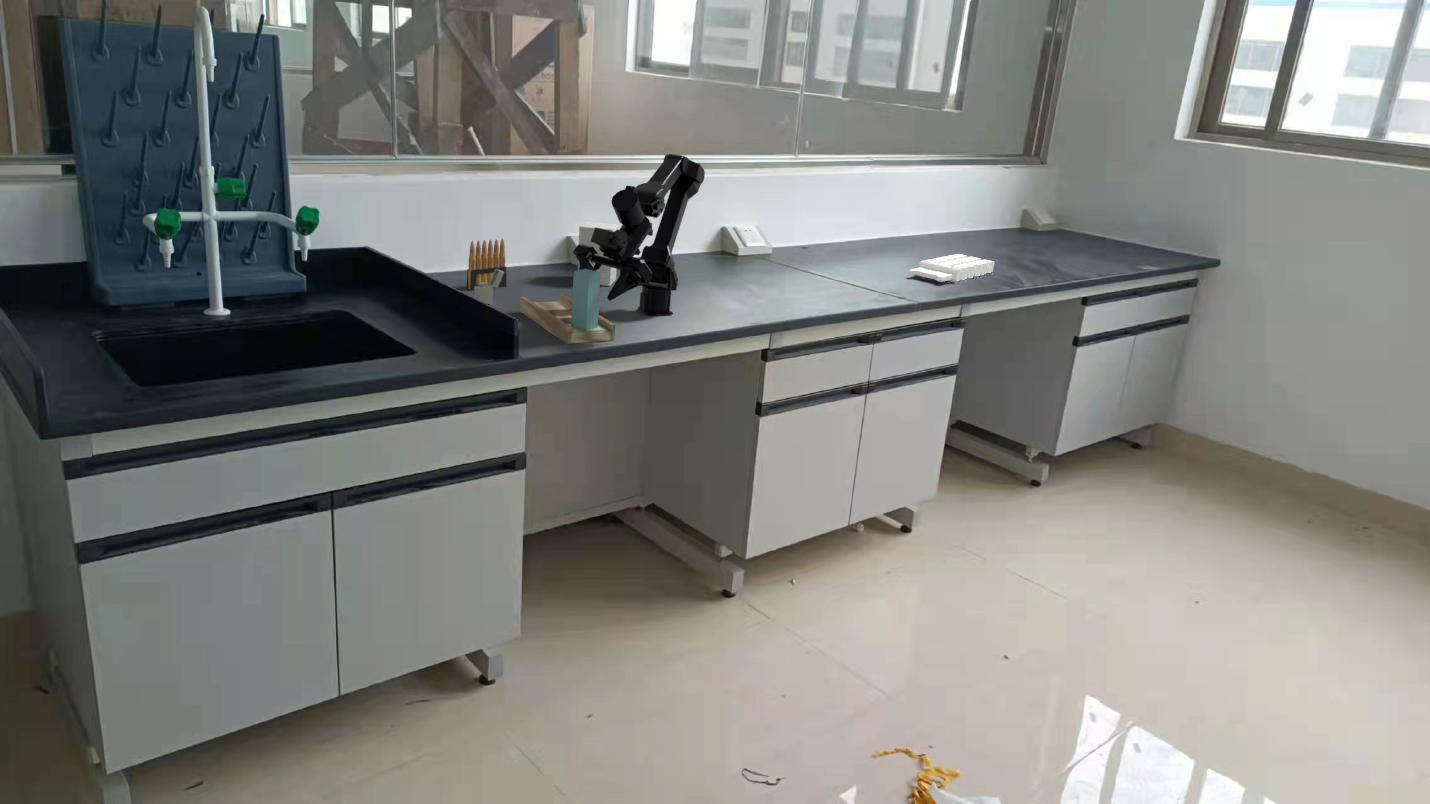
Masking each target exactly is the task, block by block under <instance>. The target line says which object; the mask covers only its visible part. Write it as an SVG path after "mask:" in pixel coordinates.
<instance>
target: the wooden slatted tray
mask: <svg viewBox="0 0 1430 804" xmlns="http://www.w3.org/2000/svg"><path fill="white" fill-rule="evenodd" d="M519 298H520V301H519V302H520V303H519V313H521V314H523V316H526V317H527V318H529V320H532V321H533V322H535V323H536V324H537V325H539V326H540V327H542V328H543V329H545V330H546V331H547V332H549V333H550V334H551V335H553V336H555V337H557V338H558V339H559V340H561V341H562V342H564V343H565V344H567V345H570V344H583V343H597V342H608V341H609V342H610V341H615V335H616V324H615V323H614V322H611V321H610V320H608V319H607V318H605V317H603V316H602V315H600V314H598V327H597V328H594V329H590V330H587V331H585V330H582V329H578V328H574V327H571V318H572V297H570V296H568V295H566V294H561V295H560V300H559V301H558V300H557V301H540V302H538V301H537V302H533V301H532V300H531V299H529V298H528V297H526V296H520V297H519Z"/></svg>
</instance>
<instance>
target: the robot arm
mask: <svg viewBox="0 0 1430 804" xmlns="http://www.w3.org/2000/svg"><path fill="white" fill-rule="evenodd" d="M663 158H664V159H663V161H662V163H661V164H660V165H659V167H658V168H657V170H656V171H655V172H654V173H653V175H652V176H651V177H650V179H649V180H648V181H647V182H643V183H640V184H637V186H633V185H625V188H624V189H620V190H619V191H617V192H616V193H615V194H614V195H612V197H611V206H612V208H613V211H614V212H615V215H616V217H617V219H618V222H619V223H620V224H621V226H620V227H619V230H616V231H615V232H611V231H608V230H605V229H600V228H596V227H595V229H594V232H593V235H592V238H591V241H590V242H592V243H596V244H598V245H599V246H600V247H599V249H600V251H601V252H603V253H604V254H603V256H602V255H599V254H598V253H597V251H596V250H595V249H594V247H592V246H588V245H584V244H579V243H578V244H577V245H576V247H575V249H574V250H573V252H572V253H573V254H574V256H575V258H576V260H577V262H578V261H579V264H580V266H579V270H582V269H589V270H593V271H596V270H598V269H599V268H600V267H601V265H605V266H608V267H612V268H616V270H620V272H619V276H618V278H616V280H615V281H614V283H613V286H612V287H611V289H610V291H609V293H608V295H607V297H606V298H607V301H609V302H610V301H613V300H615V299H616V298H618V297H619V296H621V295H623V294H625V293H627V292H628V291H631V290H633V289H635V288H636V287H642V290H641V292H640V296H639V306H637V310H639V311H640V312H642V313H644V314H645V315H648V316H667V315H669V316H670V315H674V312H673V311H671V296H672V291H677V288H678V285H679V283H678V282H679V278H678V275H677V272H676V269H675V266H676V265H675V263H676V262H675V259H674V255H673V249H674V246H675V243H676V240H677V236H678V234H679V230H680V229H681V228H680V227H681V224H682V220H683V218H684V215H685V212H686V208H687V205H688V203H689V201H690V199H692V198H693V197H694V196H695V195H696V194H698V192H699V190H700V188H701V185H702V184H703V183H704V180H705V173H706V172H705V169H704V168H703V166H701V163H697V162H695V161H692V160H691V159H689V158H688V157H686V156H685V155H682V154H681V155H680V154H673V153H669V154H668V153H667V154H665V156H664V157H663ZM668 193H669V194H668ZM667 194H668V197H667V200H666V203H665V197H666V196H667ZM661 215H662V216H661ZM660 216H661V218H660V222H659V225H658V228H657V231H656V234H655V238H654V241H653V243H652V244H650V245H649V246H648V245H645V246H644V247H643V248H642V250H640V248H641V246H642V244H643V243H644V241H645V240H646V238H647V236H649V237H650V236H651V237H653V234H654V229H653V223H652V222H651V221H650V219H649V218H655V219H656V218H659V217H660ZM640 254H641V255H640ZM634 256H640V257H639V258H638V257H634Z"/></svg>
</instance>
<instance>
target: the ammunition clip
mask: <svg viewBox="0 0 1430 804" xmlns="http://www.w3.org/2000/svg"><path fill="white" fill-rule="evenodd" d="M481 246H482V247H481ZM505 249H506V244H505V241H504V238H501V240H500V244H499V240H498V239H497V238H496V239H495V240H494V245H493V241H492V239H489V241H488V244H487V242H486V239H484V240H483V242H482V245H481V242H480V240H477V242H476V246H475V243H474V240H472V241H471V242H470V246H469V254H468V268H467V269H466V270H467V272H466V273H467V274H466V290H467V291H471V292H473V291H474V287H476V286H479V283H480V282H488V285H489V283H490V281H491V278H492V276H493V274H494V271H495V269H498V270H501V271H503V272H504V274H503V276H502V279H501V281H500V284H499V286H498V288H497V289H499V288H505V287H507V286H508V285H507V284H508V282H507V266H506V250H505ZM493 289H496V288H495V287H493Z"/></svg>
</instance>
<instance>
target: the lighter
mask: <svg viewBox="0 0 1430 804" xmlns="http://www.w3.org/2000/svg"><path fill="white" fill-rule="evenodd" d="M503 274H504V272H503V271H501V270H498V269H495V271H494V274H493V276H492V278H491V281H490V283H489V285H488V282H480V283H479V286H476V287H474V293H473V294H474V295H473V298H474V297H475V298H478V299H479V300H482V301H483V302H486V303H488V304H490V305H489V306H492V305H493V304H494V303H493V299H494V298H493V297H494V292H493V291H494V289H499V288H498V286H499V284H500V281H501V279H502V276H503ZM493 287H495V288H493Z"/></svg>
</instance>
